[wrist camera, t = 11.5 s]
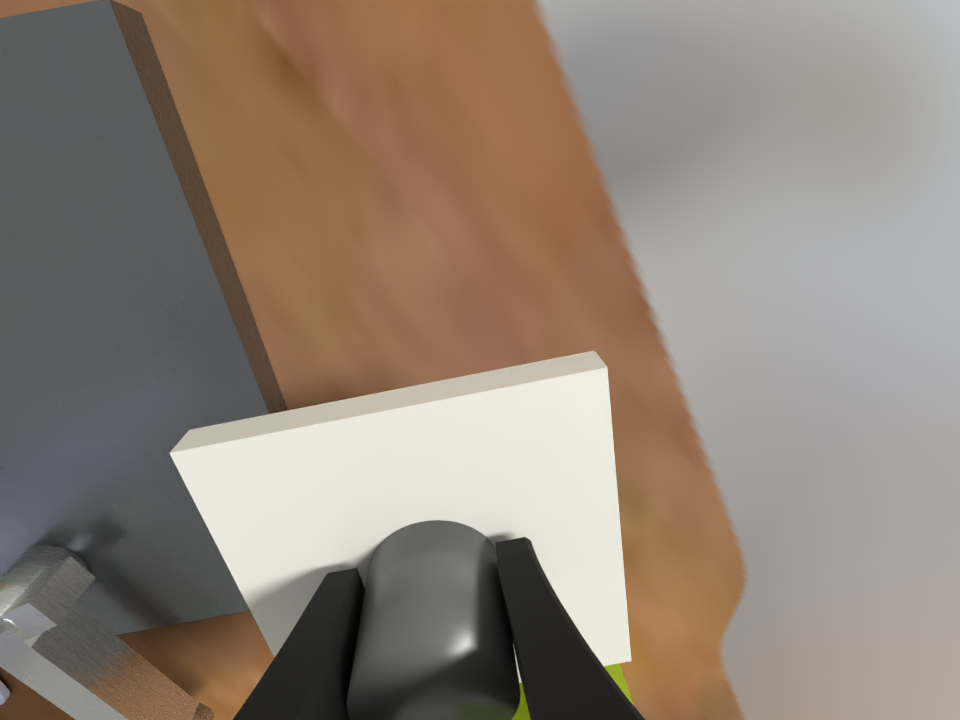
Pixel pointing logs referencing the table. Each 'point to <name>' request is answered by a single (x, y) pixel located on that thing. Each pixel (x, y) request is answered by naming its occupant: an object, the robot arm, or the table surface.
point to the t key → (78, 647)
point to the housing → (112, 319)
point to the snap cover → (425, 524)
